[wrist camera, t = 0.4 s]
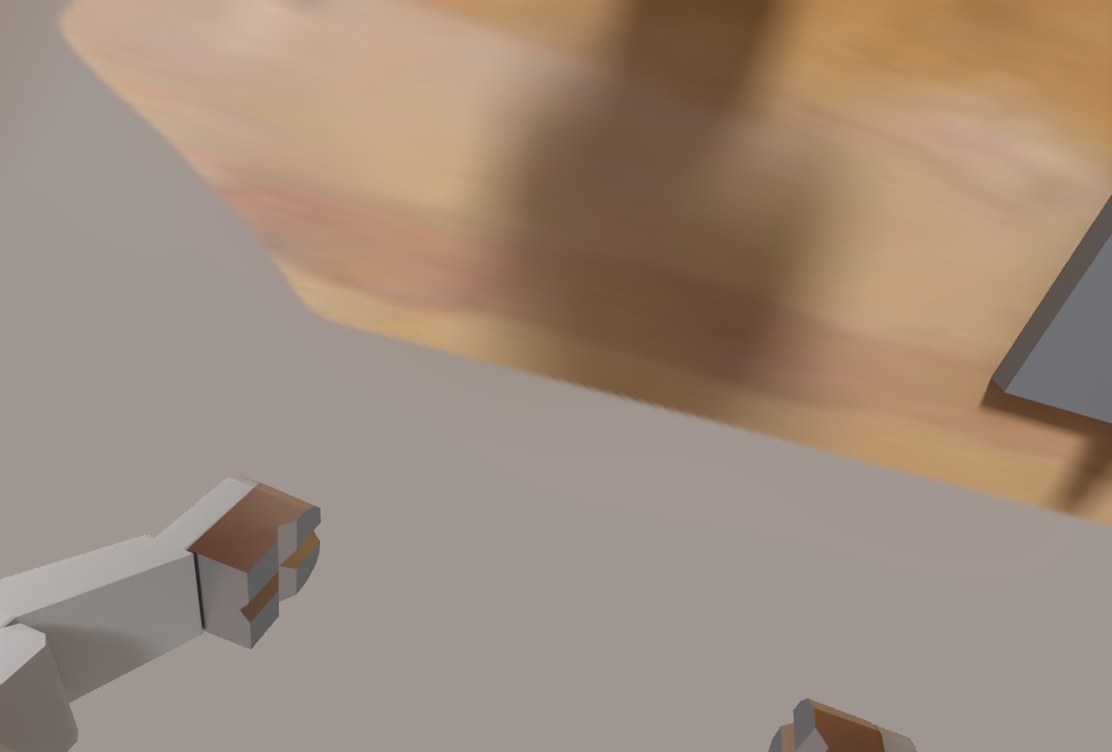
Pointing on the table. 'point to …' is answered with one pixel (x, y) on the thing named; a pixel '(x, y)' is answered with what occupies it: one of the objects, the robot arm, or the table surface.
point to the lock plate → (1070, 334)
